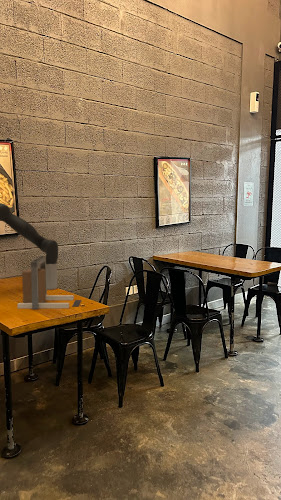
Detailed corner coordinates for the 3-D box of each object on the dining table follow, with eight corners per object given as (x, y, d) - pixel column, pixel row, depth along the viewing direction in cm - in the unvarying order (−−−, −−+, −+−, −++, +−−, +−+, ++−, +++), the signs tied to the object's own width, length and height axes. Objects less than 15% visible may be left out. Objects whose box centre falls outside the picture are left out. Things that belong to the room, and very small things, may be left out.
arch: (41, 298, 235) (40, 256, 232) (46, 298, 236) (45, 256, 232) (32, 309, 212) (30, 262, 209) (37, 309, 212) (36, 262, 209)
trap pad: (75, 300, 231) (75, 300, 231) (81, 300, 231) (81, 300, 231) (72, 306, 217) (72, 306, 217) (78, 306, 217) (78, 306, 217)
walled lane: (27, 299, 233) (26, 295, 233) (73, 299, 234) (73, 295, 234) (17, 308, 213) (17, 304, 213) (68, 308, 214) (68, 303, 214)
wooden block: (38, 306, 218) (37, 271, 215) (22, 305, 220) (21, 270, 217) (46, 302, 227) (45, 268, 225) (30, 301, 229) (29, 267, 227)
